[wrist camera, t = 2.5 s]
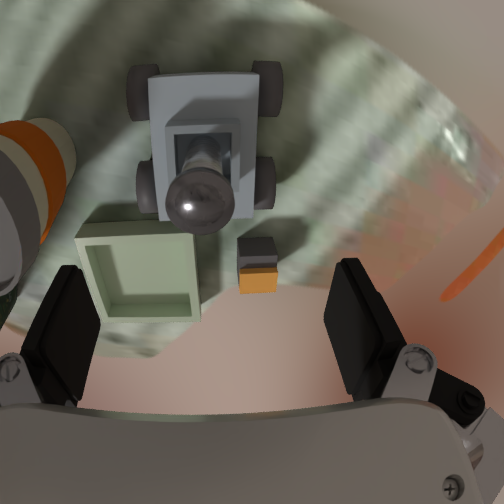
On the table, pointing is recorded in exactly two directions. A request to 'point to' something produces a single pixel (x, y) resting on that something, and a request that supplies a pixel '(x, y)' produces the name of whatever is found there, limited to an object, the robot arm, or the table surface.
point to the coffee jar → (7, 305)
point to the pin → (200, 190)
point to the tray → (141, 271)
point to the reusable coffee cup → (30, 190)
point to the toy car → (206, 129)
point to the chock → (257, 265)
